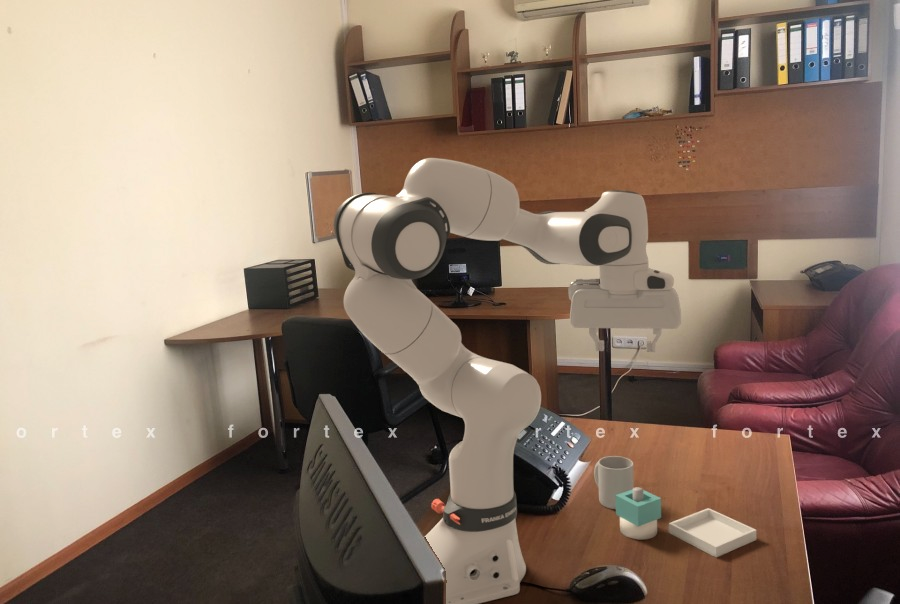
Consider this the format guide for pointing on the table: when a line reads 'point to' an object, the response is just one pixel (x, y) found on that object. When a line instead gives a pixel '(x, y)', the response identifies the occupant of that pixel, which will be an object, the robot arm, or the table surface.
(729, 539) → the tray
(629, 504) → the teal hollow block
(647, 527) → the peg stand
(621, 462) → the cup
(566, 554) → the table surface
